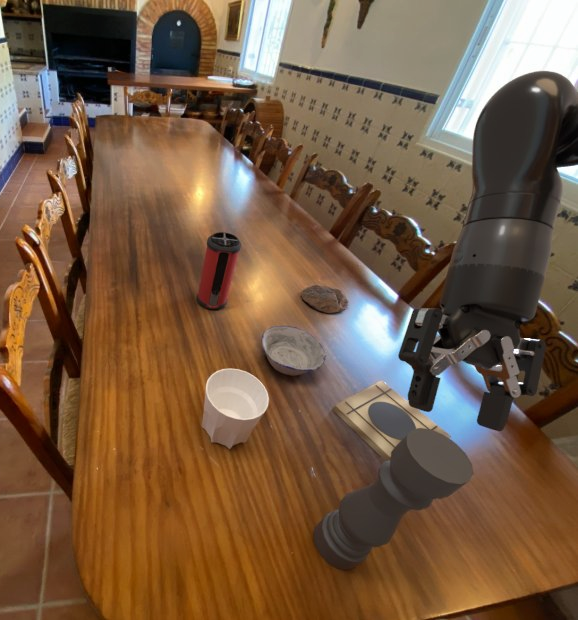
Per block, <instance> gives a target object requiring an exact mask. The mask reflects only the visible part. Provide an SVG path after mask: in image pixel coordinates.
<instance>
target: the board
mask: <svg viewBox="0 0 578 620" xmlns="http://www.w3.org/2000/svg"><path fill="white" fill-rule="evenodd" d="M332 411H333V412H334V413H335V414H336V415H337V416H338V417H339V418H340V419H341V420H342V421H343V422H344V423H345V424H346V425H347V426H348V427H349V428H351V429H352V431H354V432H355V434H357V435H358V436H359V437H360V438H361V439H362V440H363V441H364V442H365V443H366V444H367V445H368V446H369V447H370V448H371V449H373V450H374V452H375V453H376V454H377V455H378V456H380V457H381V459H382V460H384V462H385V461H388V460H390V457H391V451H392V450H393V449H394V448H395V447H396V445H397V444H398V443H399V442H400V441H401V440H402V439H403V438H404V437H405V436H406V435H407V434H408V433H409V432H410V431H411V430H413V429H417V428H424V429H431V430H433V431H436V432H438V433H441V434H443V435H445V436H446V437H448V438H449V439H450V438H451V437H452V436H451V434H449V433H447V432H446V431H445V430H444V429H443V428H442V427H441V426H439V425H438V424H436V422H434V420H432V419H430V418H429V417H428V416H426V414H424V413H423V411H421V410H419V409H416V408H413V407H411V406H410V405H409V400H408V399H405V398H404V397H403V396H402V395H401V394H399V393H398V392H397V391H396V390H394V389H393V388H392V387H391V386H389V385H388V384H387V383H386V382H385V381H384V380H382V379H380V380H379V381H377V382H375V383H373V384H372V385H371V384H370V385H369V386H368V387H366V388H364V389H362V390H360V391H358V392H357V393H354V394H353V395H351V396H349V397H346V398H345V399H343V400H342V401H340V402H338V403H335V404H334V406H333V408H332Z"/></svg>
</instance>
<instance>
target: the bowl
mask: <svg viewBox="0 0 578 620" xmlns="http://www.w3.org/2000/svg"><path fill="white" fill-rule="evenodd" d="M261 346H262V350H263V351H264V354H265V355H266V356H265V357H266V358H267V360H268V363H269V364H270V365H271V367H272V368H273V369H274V370H276V371H277V372H279V373H280V374H283V375H287V376H292V377H293V376H301V375H304V374H306V373H307V374H308V372H315V371H316V370H319V369H321V367H322V366H323V365H324V363H325V361H326V357H327V354H326V353H325V352H326V351H325V349H324V347H323V345H322V344H321V342H320V341H319V340H318V339H317V338H316V337H315V336H313V335H312V334H311V333H309V332H308V331H305V330H304V329H300V328H298V327H297V326H289V325H275V326H271V327H270V328H268V329H266V330H265V331H264V332H263V333H262V336H261Z"/></svg>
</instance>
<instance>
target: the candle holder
mask: <svg viewBox="0 0 578 620" xmlns="http://www.w3.org/2000/svg"><path fill="white" fill-rule="evenodd" d="M472 477H474V468H473V463H472V462H471V460H470V458H469V456H468V454H467V453H466V452H465V451H464V450H463V449H462V448H461V447H460V446H459V445H458V444H457V443H456V442H455V441H454V440H452V439H450V438H448V437H446V436H445V435H443V434H441V433H438V432H436V431H433V430H431V429H424V428H417V429H413V430H411V431H410V432H409V433H408V434H407V435H406V436H405V437H404V438H403V439H402V440H401V441H400V442H399V443H398V444H397V445H396V447H395V448H394V449H393V450H392V451H391V457H390V460H388V461H385V460H384V461H383V462H382V464H381V465H380V466H379V467H378V472H377V479H376V480H375V481H374V482H373V483H372V484H369V485H367V486H364V487H361V488H359V489H356V490H352V491H350V492H348V493H345V495H344V496H343V497H342V499H340V501H339V504H338V509H333V510H332V511H330V512H327V513H326V514H325V515H324V516H323V517H322V519H321V520H319V522H318V523H317V524H316V525H315V526H314V529H313V535H312V537H313V542H314V546H315V548H316V550H317V552H318V554H319V556H320V557H322V559H323V560H324V561H325V563H327V564H329V565H330V566H332V567H334V568H335V569H337V570H343V571H349V570H352V569H354V568H356V567H357V566H359V565H360V564H361V563H362V562H364V561H366V559H367V557H368V556H369V554H370V553H371V552H372V550H373V548H380V547H383V546H386V545H387V544H389V543H390V542H391V540H392V539H393V537H394V536H395V533H396V531H397V529H398V527H399V524H400V523H401V521H402V519H403V517H404V515H406V514H407V513H408V512H409V511H421V510H425V509H428V508H429V507H430V506H431V505H432V503H433V501H434V500H436V499H437V500H441V499H444V498H448V497H450V496H451V495H452V494H454V493H456V492H457V491H458V490H460V489H461V488H462V487H463V486H465V485H466V484H468V483H470V481H471V479H472Z"/></svg>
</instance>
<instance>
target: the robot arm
mask: <svg viewBox="0 0 578 620" xmlns="http://www.w3.org/2000/svg"><path fill="white" fill-rule="evenodd" d="M471 150H472V152H471V155H472V156H471V159H472V161H471V178H472V179H471V180H472V190H471V196H470V199H469V201H468V204H467V209H466V212H465V215H464V219H463V222H462V227H461V231H460V233H459V236H458V238H457V240H456V242H455V244H454V247H453V249H452V253H451V258H450V262H449V266H448V269H447V273H446V277H445V280H444V283H443V288H442V291H441V295H440V298H439V303H438V305H439V306H440V308H438V307H437V308H436V307H435V308H434V307H431V308H430V307H429V308H428V307H427V308H426V307H416V308H414V309H413V310H412V311H411V315H410V318H409V320H408V321H409V322H408V324H407V328H406V330H405V334H404V337H403V339H402V342H401V346H400V348H399V352H398V359H399V360H400V362H405V363H406V364H408V365H409V366H410V367H411V369H412V370H413V371H412V372H413V373H412V377H411V381H410V385H409V388H408V389H409V390H408V392H407V401H408V402H409V405H410V406H411V407H413V408H416V409H418V410H419V411H421V412H426V413H430V412H432V411H433V409H434V405H435V402H436V397H437V393H438V390H439V385H440V382H441V379H442V377H439V376H440V375H441V374H442V373H443V372H444V371H446V370H447V369H448V368H450V367H451V366H452V365H455V364H456V365H457V364H459V363H461V362H463V363H465V364H466V365H470V366H474V368H475V370H476V372H477V373H478V374H479V375H481V376H482V378H483V381H484V384H485V387H486V390H487V391H484V392H483V396H482V399H481V403H480V406H479V410H478V414H477V418H476V423H477V425H479V426H481V427H483V428H487V429H489V430H492V431H497V432H502V431H503V430H504V429H505V426H506V425H507V423H508V421H509V416H510V413H511V410H512V405H513V402H514V399H515V398H516V399H517V398H519V397H521V396H529V397H534V396H536V394H537V392H538V388H539V383H540V377H541V373H542V368H543V363H544V359H545V354H546V349H547V343H546V342H545V340H543V339H535V338H524V337H521V335H520V327H521V325H522V324H524V323H525V322H529V321H531V320H532V319H534V317H536V312H537V309H538V305H539V302H540V296H541V293H542V289H543V287H544V283H545V279H546V274H547V270H548V267H549V264H550V260H551V255H552V248H553V247H552V246H553V235H554V234H553V233H554V229H555V226H556V221H557V218H558V214H559V209H560V208H561V207H560V206H561V203H562V199H563V193H564V189H563V187H564V185H563V179H562V177H561V175H560V172H559V170H558V169H562V168H569V167H576V166H578V90H577V88H576V86H574V84H573V83H572V82H571V81H570V80H569V78H568V77H566V76H564V75H563V74H561V73H558V72H555V71H549V70H537V71H532V72H528V73H525V74H522V75H520V76H517V77H515V78H513V79H511V80H509V81H508V82H507V83H506V84H505V83H504V85H503V86H501V87H500V88H499V89H498V90H497V91H495V93H494V94H493V95H492V96H491V97H490V98H489V99H488V100H487V101H486V103H485V105H484V106H483V108H482V109H481V111H480V113H479V115H478V117H477V120H476V123H475V126H474V131H473V137H472V149H471ZM437 335H438V336H437ZM499 364H500V365H499ZM520 372H524V377H523V381H522V382H521V381H519V380H518V379H519V375H520ZM500 380H501V381H500Z"/></svg>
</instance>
